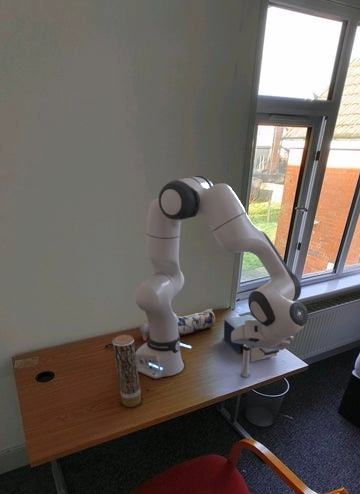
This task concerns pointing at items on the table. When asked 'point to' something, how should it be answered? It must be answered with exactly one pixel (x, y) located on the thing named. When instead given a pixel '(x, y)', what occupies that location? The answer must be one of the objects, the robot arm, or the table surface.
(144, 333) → the dog figurine
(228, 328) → the cabinet
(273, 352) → the drawer
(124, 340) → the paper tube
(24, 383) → the table surface
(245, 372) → the marker
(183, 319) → the pencil case
